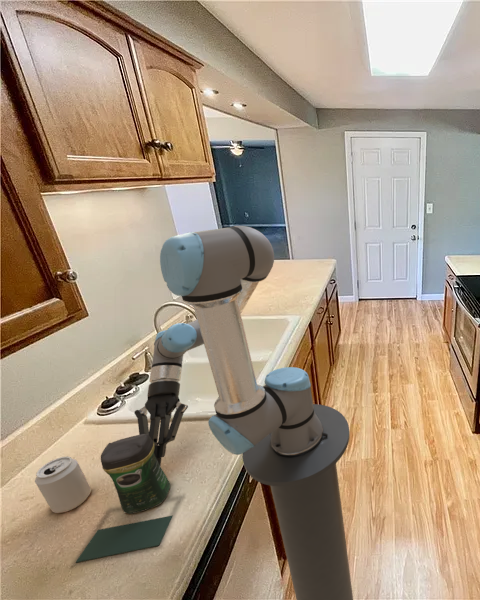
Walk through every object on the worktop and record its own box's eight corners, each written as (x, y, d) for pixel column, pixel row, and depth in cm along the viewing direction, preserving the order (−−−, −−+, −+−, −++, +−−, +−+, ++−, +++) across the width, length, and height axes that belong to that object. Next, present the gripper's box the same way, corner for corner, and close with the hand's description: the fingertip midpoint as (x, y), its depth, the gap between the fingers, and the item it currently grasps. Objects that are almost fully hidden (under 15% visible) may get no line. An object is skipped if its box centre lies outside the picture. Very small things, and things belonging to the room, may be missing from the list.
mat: (181, 499, 84) (180, 496, 84) (159, 547, 73) (158, 544, 73) (110, 512, 81) (109, 509, 81) (77, 564, 70) (75, 562, 70)
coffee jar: (174, 480, 89) (153, 425, 82) (166, 505, 82) (143, 448, 75) (131, 492, 86) (106, 436, 79) (119, 520, 79) (91, 461, 72)
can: (46, 509, 82) (25, 473, 77) (82, 484, 88) (65, 450, 84) (62, 520, 79) (41, 483, 75) (98, 493, 85) (81, 458, 81)
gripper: (194, 382, 101) (187, 467, 92) (147, 388, 99) (135, 475, 89) (183, 377, 94) (174, 468, 85) (132, 383, 92) (117, 477, 83)
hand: (154, 472), depth 87 cm, fingers closed
